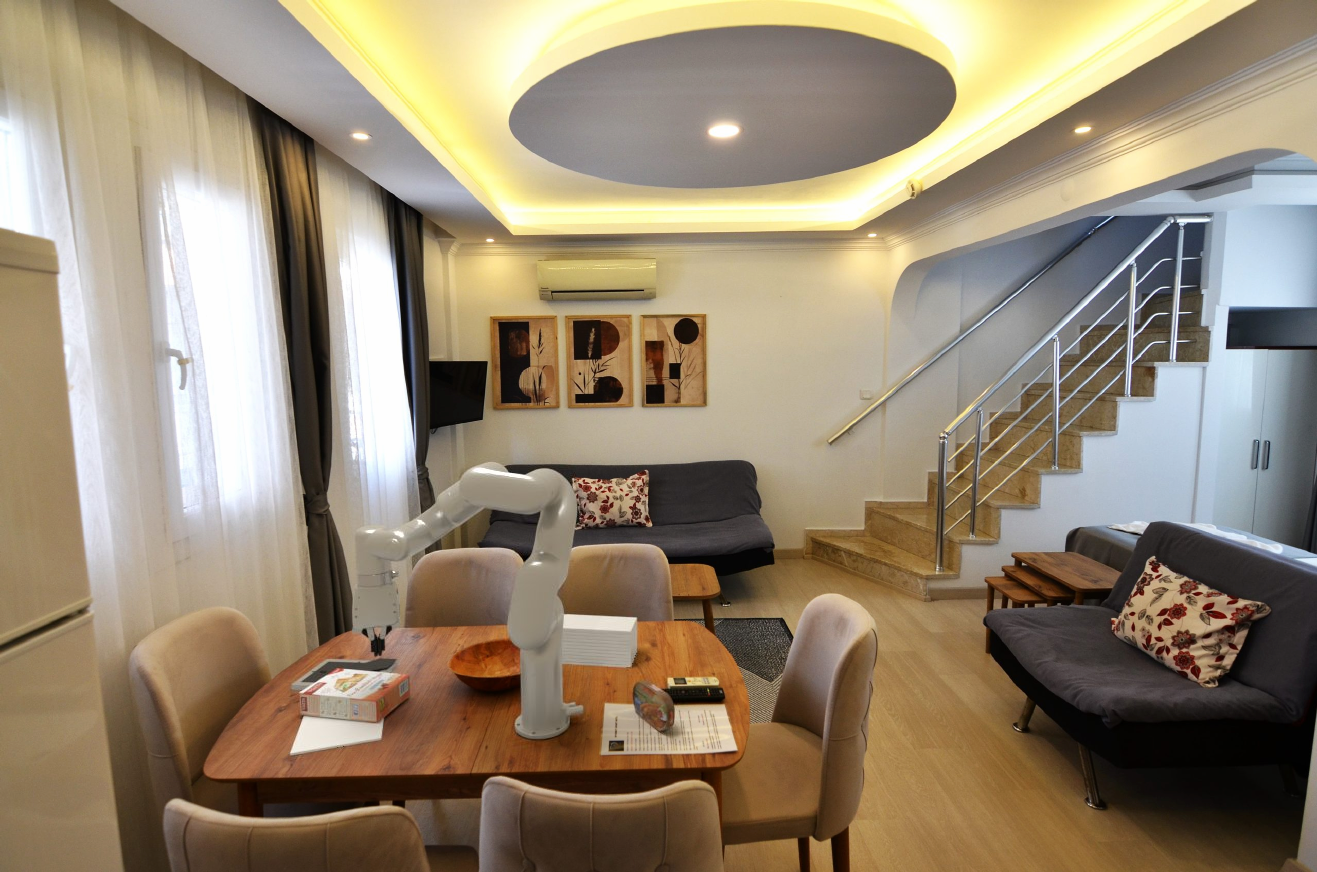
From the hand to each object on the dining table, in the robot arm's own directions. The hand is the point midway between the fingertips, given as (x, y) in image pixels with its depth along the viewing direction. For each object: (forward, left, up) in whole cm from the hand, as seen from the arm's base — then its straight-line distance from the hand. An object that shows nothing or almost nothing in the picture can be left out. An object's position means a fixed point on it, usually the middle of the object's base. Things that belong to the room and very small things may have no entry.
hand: (378, 653), depth 153 cm
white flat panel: (+8, 0, -16) cm, 18 cm away
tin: (-61, +24, -16) cm, 67 cm away
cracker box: (-3, -2, -12) cm, 13 cm away
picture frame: (+10, -26, -16) cm, 32 cm away
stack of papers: (-52, -17, -16) cm, 58 cm away
